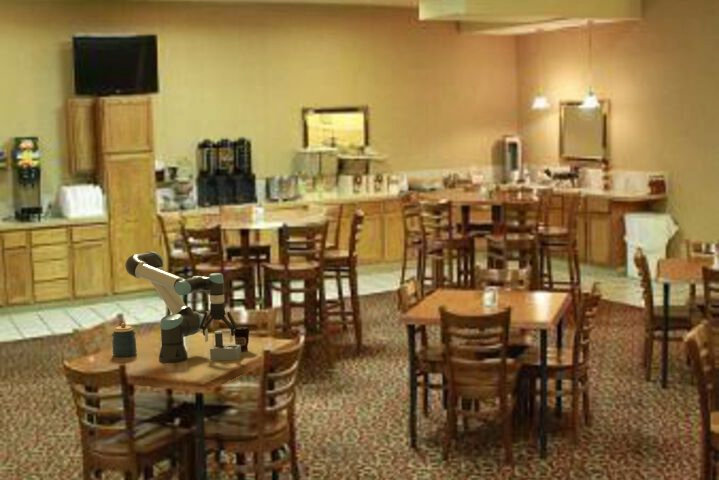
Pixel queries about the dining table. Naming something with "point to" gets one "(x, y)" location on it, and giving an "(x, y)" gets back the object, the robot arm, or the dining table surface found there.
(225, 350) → the socket box
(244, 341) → the coffee cup
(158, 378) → the dining table surface
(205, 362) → the dining table surface
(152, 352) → the dining table surface
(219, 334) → the plug
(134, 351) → the canister
